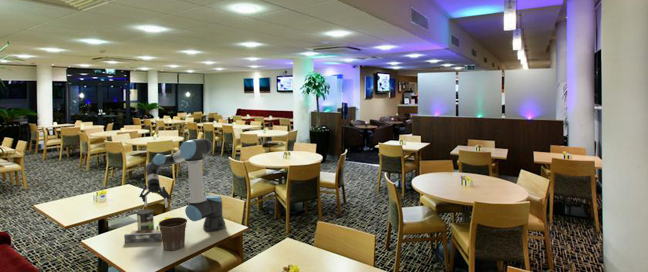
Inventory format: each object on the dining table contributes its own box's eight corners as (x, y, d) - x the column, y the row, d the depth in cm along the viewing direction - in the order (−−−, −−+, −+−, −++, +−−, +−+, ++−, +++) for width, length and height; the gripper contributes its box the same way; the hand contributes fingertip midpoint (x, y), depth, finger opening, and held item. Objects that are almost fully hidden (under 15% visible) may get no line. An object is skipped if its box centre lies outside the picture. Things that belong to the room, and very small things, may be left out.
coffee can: (157, 228, 246) (156, 209, 244) (147, 234, 236) (146, 214, 234) (144, 227, 248) (143, 208, 246) (134, 233, 238) (132, 213, 236)
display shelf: (167, 233, 238) (166, 225, 237) (160, 241, 225) (160, 233, 224) (133, 234, 235) (132, 227, 235) (124, 243, 222) (124, 235, 221)
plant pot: (193, 242, 224) (192, 218, 222) (178, 253, 208) (176, 227, 206) (171, 240, 227) (169, 216, 225) (154, 251, 211) (152, 225, 209)
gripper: (168, 186, 257) (172, 210, 244) (132, 183, 240) (134, 208, 227) (173, 180, 254) (177, 203, 241) (136, 176, 237) (139, 201, 224)
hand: (156, 206), depth 234 cm, fingers open, 13 cm apart
